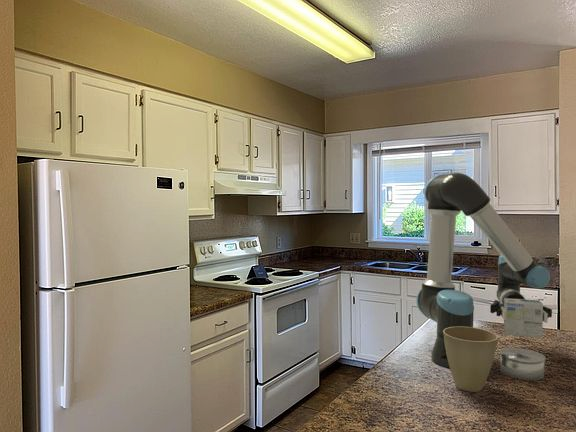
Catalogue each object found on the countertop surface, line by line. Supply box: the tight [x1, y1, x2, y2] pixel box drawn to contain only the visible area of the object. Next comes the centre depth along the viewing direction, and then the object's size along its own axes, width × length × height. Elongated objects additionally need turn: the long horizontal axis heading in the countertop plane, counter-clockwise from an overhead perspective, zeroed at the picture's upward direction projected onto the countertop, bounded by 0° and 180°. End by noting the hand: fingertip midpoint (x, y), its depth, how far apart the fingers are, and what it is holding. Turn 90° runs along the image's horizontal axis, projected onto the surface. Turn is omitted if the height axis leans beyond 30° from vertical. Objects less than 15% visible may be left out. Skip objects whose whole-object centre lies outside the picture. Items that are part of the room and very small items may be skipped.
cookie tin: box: [499, 347, 546, 381], centre depth 143 cm, size 13×13×6 cm
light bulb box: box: [503, 298, 544, 339], centre depth 142 cm, size 11×7×11 cm, turn 70°
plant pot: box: [443, 326, 499, 393], centre depth 131 cm, size 15×15×16 cm
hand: (525, 316), depth 138 cm, fingers closed on light bulb box, 11 cm apart
